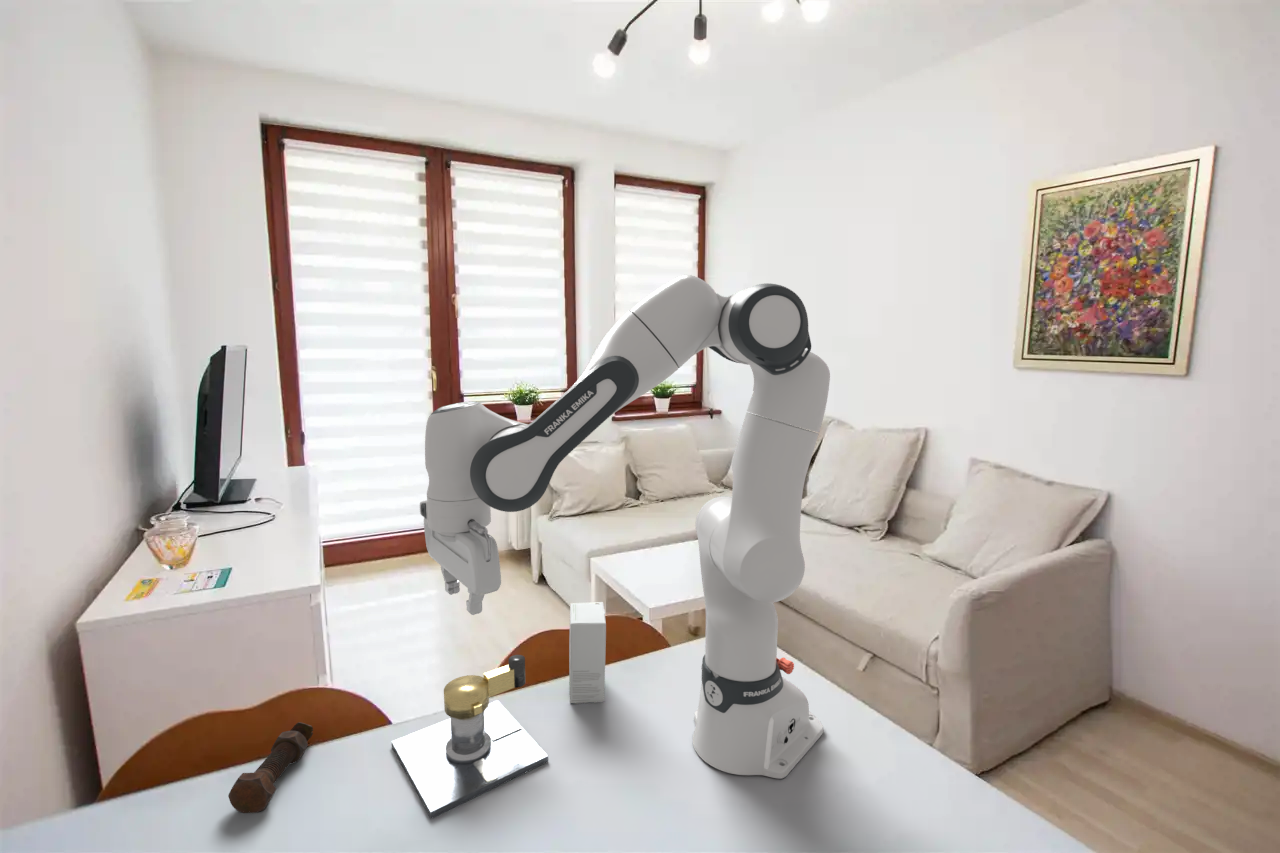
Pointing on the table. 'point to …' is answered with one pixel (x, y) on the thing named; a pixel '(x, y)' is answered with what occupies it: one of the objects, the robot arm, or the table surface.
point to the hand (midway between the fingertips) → (463, 602)
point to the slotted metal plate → (466, 757)
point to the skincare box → (587, 652)
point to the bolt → (269, 770)
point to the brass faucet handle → (482, 688)
